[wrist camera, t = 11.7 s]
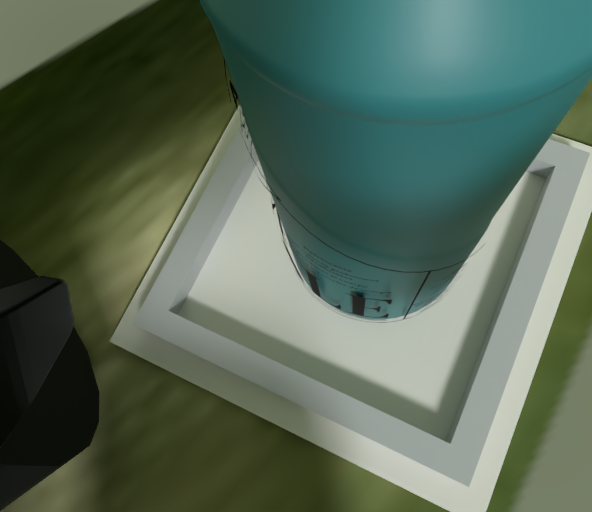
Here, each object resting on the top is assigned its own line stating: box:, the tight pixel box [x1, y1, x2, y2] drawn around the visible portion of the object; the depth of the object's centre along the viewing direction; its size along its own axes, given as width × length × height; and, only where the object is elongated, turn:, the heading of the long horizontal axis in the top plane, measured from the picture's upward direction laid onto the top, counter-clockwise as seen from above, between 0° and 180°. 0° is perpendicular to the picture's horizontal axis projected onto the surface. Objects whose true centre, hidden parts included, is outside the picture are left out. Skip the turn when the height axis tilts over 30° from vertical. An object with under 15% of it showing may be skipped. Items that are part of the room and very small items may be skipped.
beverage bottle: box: [199, 0, 592, 323], centre depth 12 cm, size 6×7×20 cm
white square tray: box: [109, 104, 592, 512], centre depth 21 cm, size 15×15×2 cm
